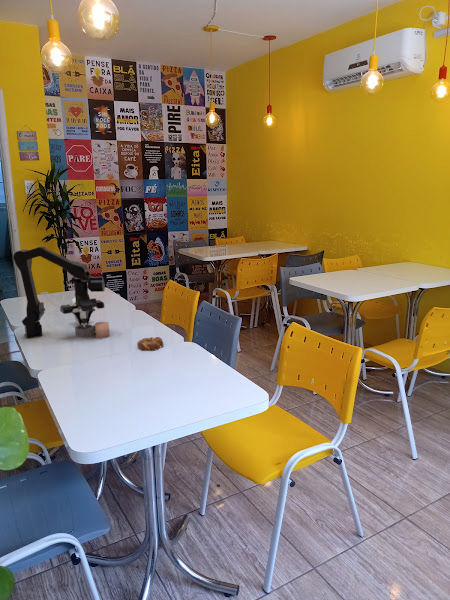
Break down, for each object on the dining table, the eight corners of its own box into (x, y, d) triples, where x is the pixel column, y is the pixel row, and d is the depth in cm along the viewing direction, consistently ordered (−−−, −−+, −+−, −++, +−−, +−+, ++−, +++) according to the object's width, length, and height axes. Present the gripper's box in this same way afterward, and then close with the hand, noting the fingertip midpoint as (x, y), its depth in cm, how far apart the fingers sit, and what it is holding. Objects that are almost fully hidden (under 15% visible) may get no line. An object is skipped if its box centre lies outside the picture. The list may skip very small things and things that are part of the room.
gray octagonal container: (79, 337, 203) (78, 330, 202) (74, 333, 209) (73, 326, 208) (99, 334, 209) (99, 326, 208) (94, 330, 215) (93, 322, 214)
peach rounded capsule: (98, 338, 202) (97, 326, 201) (94, 335, 207) (93, 323, 205) (111, 336, 205) (110, 324, 204) (106, 333, 210) (105, 320, 209)
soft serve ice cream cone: (86, 326, 221) (84, 294, 217) (70, 326, 221) (67, 294, 217) (92, 321, 229) (89, 291, 225) (75, 321, 229) (73, 291, 225)
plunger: (80, 335, 204) (79, 321, 203) (76, 332, 209) (75, 318, 207) (92, 333, 208) (91, 319, 206) (88, 330, 212) (87, 316, 210)
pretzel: (152, 341, 200) (152, 333, 199) (169, 346, 193) (169, 338, 193) (131, 347, 191) (131, 339, 190) (148, 353, 184) (148, 344, 184)
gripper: (65, 297, 192) (68, 332, 196) (107, 292, 202) (109, 325, 206) (58, 293, 201) (61, 326, 204) (99, 288, 211) (101, 319, 215)
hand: (84, 324), depth 207 cm, fingers closed on plunger, 3 cm apart
